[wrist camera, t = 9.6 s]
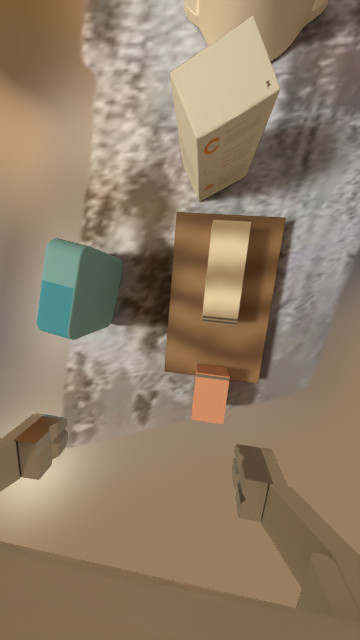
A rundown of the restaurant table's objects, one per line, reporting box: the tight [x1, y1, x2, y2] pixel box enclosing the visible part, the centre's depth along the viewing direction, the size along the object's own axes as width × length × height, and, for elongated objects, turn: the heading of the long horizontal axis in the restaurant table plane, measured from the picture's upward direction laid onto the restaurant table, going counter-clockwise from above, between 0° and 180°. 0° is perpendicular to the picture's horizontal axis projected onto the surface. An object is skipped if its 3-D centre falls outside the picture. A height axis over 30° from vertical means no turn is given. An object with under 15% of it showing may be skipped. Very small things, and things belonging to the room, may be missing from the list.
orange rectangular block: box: [192, 364, 230, 424], centre depth 31 cm, size 8×5×4 cm, turn 175°
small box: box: [170, 16, 280, 202], centre depth 23 cm, size 8×6×13 cm
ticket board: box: [165, 212, 286, 383], centre depth 30 cm, size 26×16×6 cm, turn 175°
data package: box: [37, 239, 123, 340], centre depth 28 cm, size 12×4×12 cm, turn 165°
